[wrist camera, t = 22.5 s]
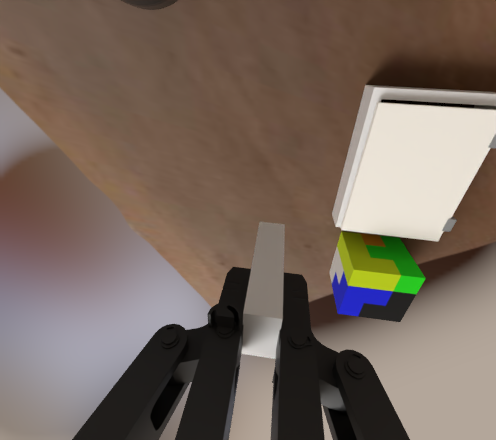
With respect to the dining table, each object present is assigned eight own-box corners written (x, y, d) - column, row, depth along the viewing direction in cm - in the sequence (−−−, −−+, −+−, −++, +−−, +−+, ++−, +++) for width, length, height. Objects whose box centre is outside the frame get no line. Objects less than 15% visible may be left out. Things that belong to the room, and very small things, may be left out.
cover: (376, 102, 30) (379, 103, 29) (512, 110, 28) (519, 112, 27) (340, 227, 39) (341, 230, 38) (440, 238, 38) (443, 242, 37)
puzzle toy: (329, 271, 50) (337, 313, 42) (341, 231, 45) (353, 269, 37) (380, 278, 49) (399, 322, 41) (399, 237, 44) (425, 278, 36)
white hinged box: (365, 84, 33) (374, 87, 29) (492, 91, 31) (516, 95, 28) (332, 214, 43) (335, 226, 40) (425, 223, 42) (437, 237, 39)
